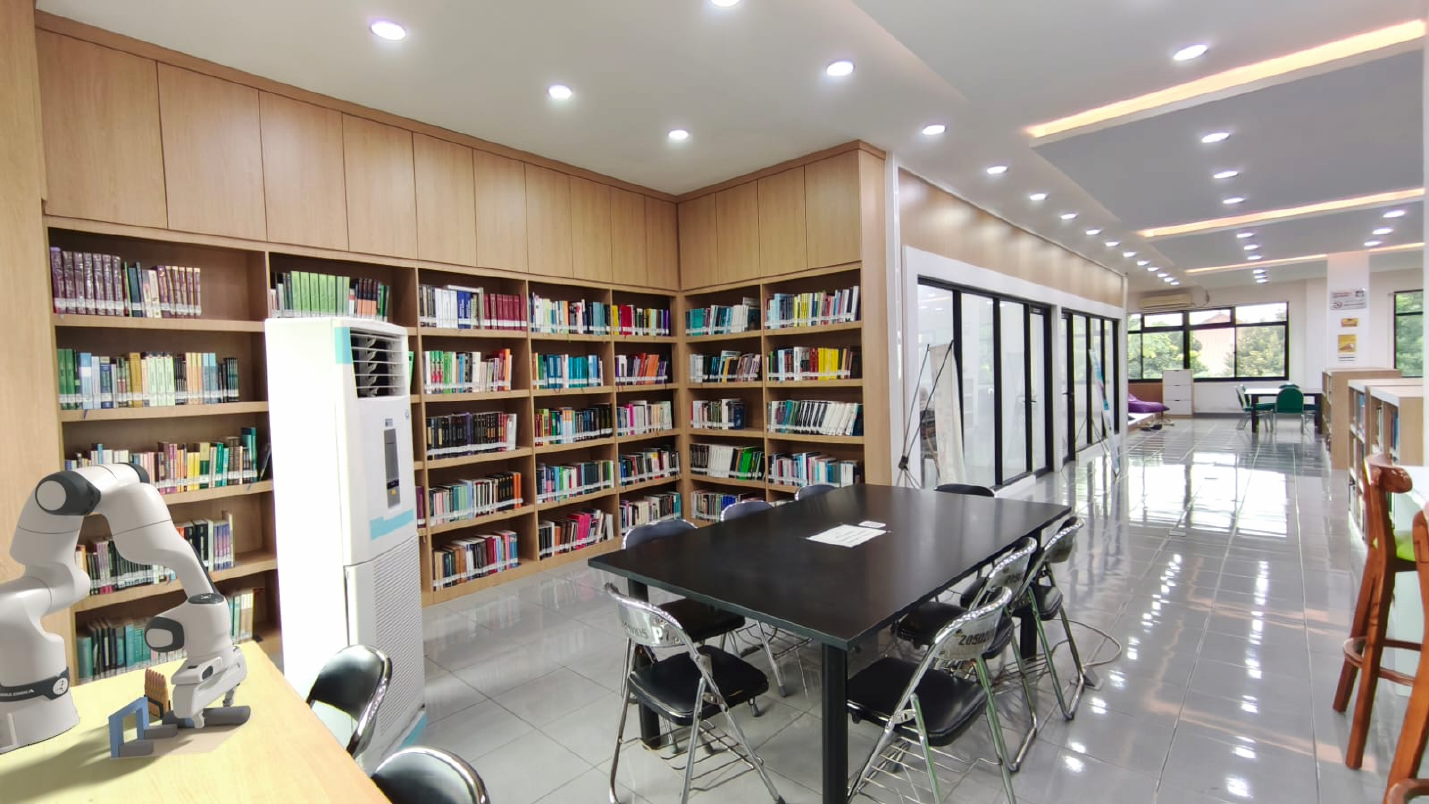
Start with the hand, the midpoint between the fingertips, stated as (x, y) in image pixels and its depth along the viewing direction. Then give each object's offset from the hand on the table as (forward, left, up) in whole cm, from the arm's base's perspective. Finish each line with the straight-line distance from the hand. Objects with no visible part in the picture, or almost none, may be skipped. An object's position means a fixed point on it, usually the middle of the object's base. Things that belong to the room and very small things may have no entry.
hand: (215, 716), depth 154 cm
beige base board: (-4, -3, -3) cm, 6 cm away
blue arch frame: (-14, -7, -3) cm, 16 cm away
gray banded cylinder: (-2, 0, -2) cm, 3 cm away
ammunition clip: (-20, +9, -4) cm, 22 cm away
